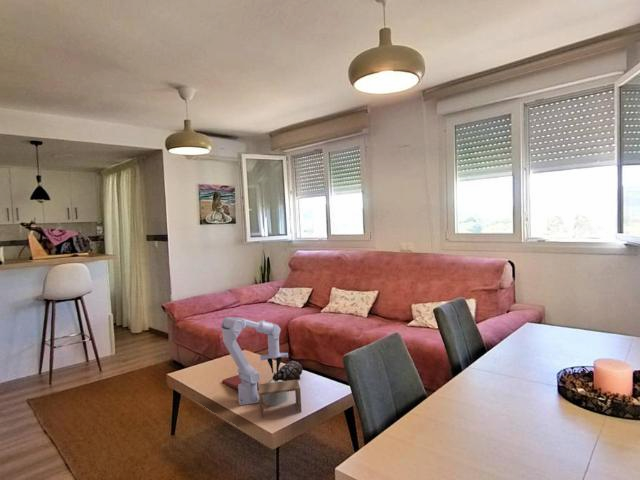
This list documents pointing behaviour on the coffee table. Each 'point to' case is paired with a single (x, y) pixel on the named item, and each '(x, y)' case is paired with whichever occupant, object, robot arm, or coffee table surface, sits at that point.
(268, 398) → the lumpy-topped squat cylinder
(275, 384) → the walnut shelf
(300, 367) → the pine cone
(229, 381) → the carton
